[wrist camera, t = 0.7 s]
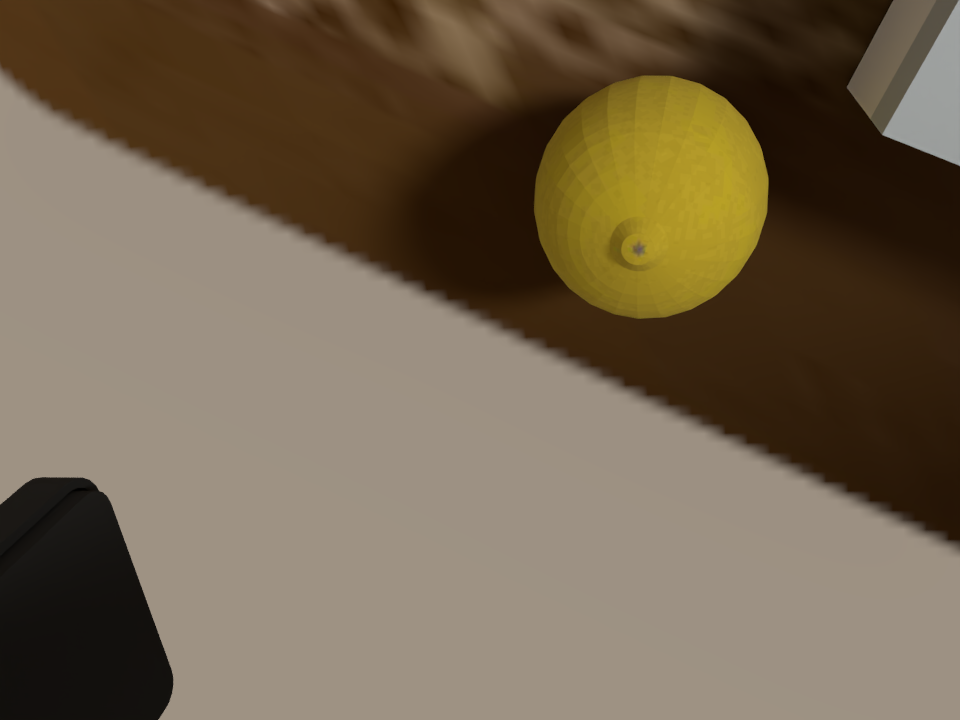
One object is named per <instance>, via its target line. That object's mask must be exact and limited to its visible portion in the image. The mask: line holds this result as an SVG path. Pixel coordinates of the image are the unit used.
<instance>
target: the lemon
mask: <svg viewBox="0 0 960 720" xmlns="http://www.w3.org/2000/svg"><path fill="white" fill-rule="evenodd" d="M767 203H768V174H767V170H766V166H765V161H764V157H763V153H762V149H761V146H760V144H759V142H758V141H757V139H756V137H755V135H754V133H753V131H752V130H751V128H750V126H749V124H748V122H747V121H746V119H745V118H744V117H743V116H742V115H741V114H740V113H739V112H738V111H737V110H736V109H735V108H734V107H733V106H732V105H731V104H730V103H729V102H728V101H727V100H726V99H725V98H724V97H722V96H721V95H719V94H717V93H715V92H714V91H712V90H710V89H708V88H707V87H705V86H703V85H702V84H700V83H696V82H692V81H689V80H685V79H681V78H677V77H674V76H639V77H635V78H631V79H628V80H624V81H620V82H616V83H613V84H611V85H610V86H608V87H606V88H604V89H602V90H600V91H599V92H597V93H595V94H593V95H591V96H589V97H588V98H586V99H585V100H584V101H583V102H582V103H581V104H579V105H578V106H577V107H576V108H575V109H574V110H573V111H572V112H571V113H570V114H569V115H568V116H567V117H565V118H564V120H563V121H562V122H561V124H560V126H559V127H558V129H557V130H556V132H555V133H554V135H553V137H552V138H551V140H550V141H549V143H548V144H547V146H546V149H545V151H544V155H543V158H542V161H541V164H540V167H539V170H538V173H537V176H536V184H535V200H534V214H535V219H536V224H537V229H538V234H539V239H540V243H541V245H542V247H543V249H544V251H545V253H546V255H547V257H548V259H549V262H550V264H551V266H552V268H553V269H554V271H555V272H556V273H557V274H558V275H559V277H560V278H561V279H562V280H563V281H564V283H565V284H566V285H567V286H568V288H569V289H571V290H572V291H573V292H575V293H576V294H577V295H579V296H580V297H581V298H583V299H584V300H585V301H587V302H588V303H590V304H591V305H594V306H596V307H598V308H601V309H603V310H605V311H608V312H610V313H612V314H616V315H621V316H627V317H633V318H638V319H640V318H659V317H667V316H671V315H674V314H677V313H681V312H684V311H688V310H691V309H693V308H695V307H696V306H698V305H700V304H702V303H703V302H705V301H707V300H709V299H711V298H712V297H714V296H715V295H717V294H718V293H719V292H720V291H721V290H722V289H723V288H724V287H725V286H726V285H727V284H728V283H730V282H731V281H732V280H733V279H734V278H735V277H736V276H737V275H738V274H739V272H740V271H741V269H742V268H743V266H744V265H745V263H746V261H747V260H748V258H749V257H750V255H751V253H752V252H753V250H754V249H755V247H756V245H757V242H758V239H759V236H760V233H761V230H762V227H763V224H764V221H765V218H766V214H767Z"/></svg>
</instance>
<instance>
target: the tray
mask: <svg viewBox="0 0 960 720" xmlns="http://www.w3.org/2000/svg"><path fill="white" fill-rule="evenodd" d="M847 89H848V90H849V91H850V93H851V94H852V95H853V97H854V98H855V99H856V101H857V102H858V103H859V105H860V106H861V107H862V109H863V110H864V111H865V113H866V114H867V115H868V117H869V118H870V119H871V121H872V122H873V123H874V125H875V126H876V127H877V129H878V130H879V131H880V133H881V134H882V135H884V136H886V137H889V138H891V139H894V140H896V141H899V142H901V143H904V144H906V145H909V146H911V147H914V148H916V149H919V150H922V151H924V152H927V153H929V154H932V155H934V156H937V157H939V158H942V159H944V160H947V161H949V162H952V163H954V164H957V165H959V166H960V0H893V2H892V4H891V5H890V7H889V9H888V11H887V13H886V15H885V17H884V19H883V20H882V22H881V24H880V26H879V28H878V30H877V32H876V33H875V35H874V37H873V39H872V41H871V43H870V45H869V47H868V48H867V50H866V52H865V54H864V56H863V58H862V60H861V62H860V63H859V65H858V67H857V69H856V71H855V73H854V75H853V76H852V78H851V80H850V82H849V84H848V86H847Z"/></svg>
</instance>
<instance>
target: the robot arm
mask: <svg viewBox="0 0 960 720" xmlns="http://www.w3.org/2000/svg"><path fill="white" fill-rule="evenodd" d="M172 689H173V674H172V670H171V667H170V665H169V662H168V659H167V656H166V653H165V651H164V648H163V645H162V642H161V640H160V637H159V634H158V631H157V629H156V626H155V623H154V621H153V618H152V615H151V612H150V610H149V607H148V604H147V601H146V598H145V596H144V593H143V590H142V587H141V585H140V582H139V579H138V576H137V574H136V571H135V568H134V566H133V563H132V560H131V557H130V555H129V552H128V549H127V546H126V543H125V541H124V538H123V535H122V532H121V530H120V527H119V525H118V521H117V519H116V516H115V513H114V511H113V508H112V505H111V503H110V501H109V499H108V497H107V496H106V495H105V494H104V493H103V492H99V490H98V488H97V487H96V485H95V484H93V483H92V482H91V481H90V480H88V479H85V478H46V477H42V478H35V479H32V480H30V481H29V482H27V483H25V484H24V485H23V486H22V487H21V488H19V489H18V490H17V491H16V492H15V493H14V494H12V495H11V496H10V497H9V498H8V499H7V500H5V501H4V502H3V503H2V504H1V505H0V720H158V719H159V718H160V716H161V714H162V713H163V712H164V710H165V708H166V707H167V705H168V703H169V700H170V698H171V694H172Z"/></svg>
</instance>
